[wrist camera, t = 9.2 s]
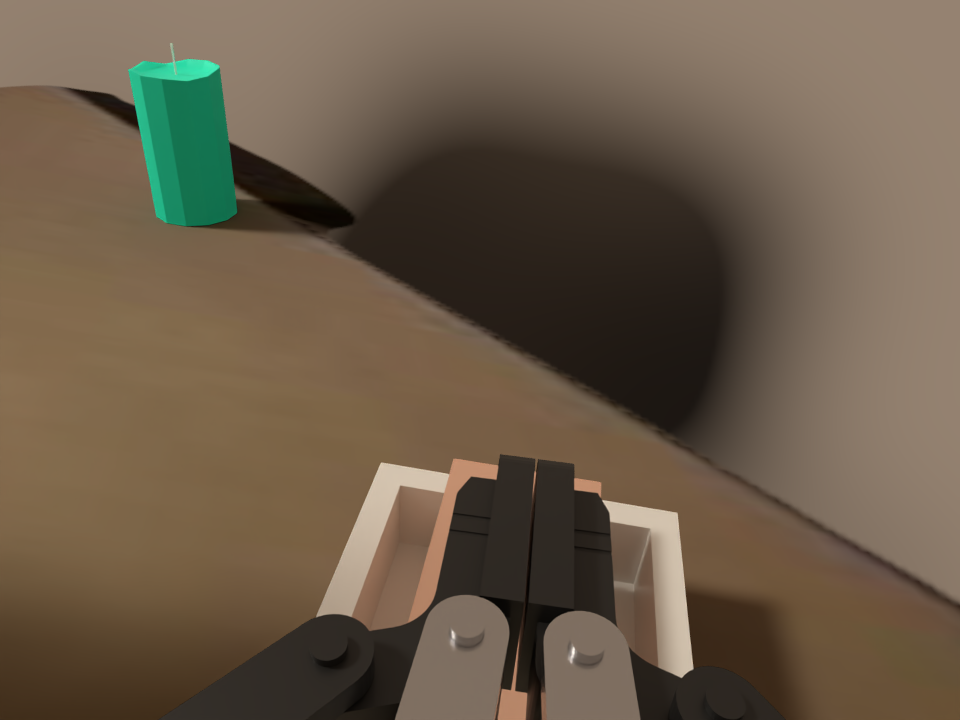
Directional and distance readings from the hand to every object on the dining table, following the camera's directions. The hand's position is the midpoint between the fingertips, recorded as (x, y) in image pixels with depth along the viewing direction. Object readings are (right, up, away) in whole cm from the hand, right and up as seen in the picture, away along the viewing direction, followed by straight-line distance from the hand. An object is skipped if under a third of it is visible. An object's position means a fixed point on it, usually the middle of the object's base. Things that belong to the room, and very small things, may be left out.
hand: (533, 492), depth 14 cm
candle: (-23, +14, +40) cm, 48 cm away
